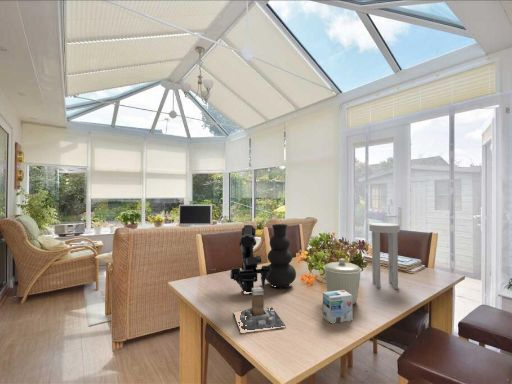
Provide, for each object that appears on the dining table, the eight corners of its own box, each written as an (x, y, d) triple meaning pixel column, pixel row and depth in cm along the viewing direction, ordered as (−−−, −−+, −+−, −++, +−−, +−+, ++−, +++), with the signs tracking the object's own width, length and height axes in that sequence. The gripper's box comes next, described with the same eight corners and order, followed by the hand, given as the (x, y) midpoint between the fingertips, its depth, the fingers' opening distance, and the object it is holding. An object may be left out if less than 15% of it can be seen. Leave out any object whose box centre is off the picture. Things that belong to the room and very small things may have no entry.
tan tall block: (251, 316, 115) (251, 288, 115) (261, 315, 116) (261, 287, 116) (254, 320, 111) (253, 291, 111) (263, 319, 112) (263, 290, 112)
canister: (345, 292, 145) (344, 253, 145) (370, 305, 128) (370, 260, 128) (316, 297, 138) (315, 256, 138) (339, 312, 121) (338, 264, 121)
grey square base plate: (233, 313, 120) (233, 305, 120) (272, 309, 124) (272, 301, 124) (240, 333, 103) (240, 324, 103) (285, 328, 107) (285, 319, 107)
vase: (302, 288, 152) (301, 225, 152) (272, 293, 145) (271, 227, 145) (286, 279, 169) (286, 222, 169) (259, 282, 162) (258, 224, 162)
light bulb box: (330, 324, 110) (330, 297, 110) (322, 317, 116) (321, 291, 116) (353, 320, 113) (353, 294, 113) (344, 314, 119) (343, 289, 119)
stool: (372, 288, 151) (372, 225, 152) (368, 279, 166) (367, 222, 167) (403, 290, 148) (402, 226, 148) (395, 281, 163) (395, 223, 163)
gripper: (230, 250, 124) (234, 282, 113) (270, 248, 128) (277, 278, 118) (228, 263, 132) (232, 294, 121) (265, 261, 136) (272, 290, 125)
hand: (253, 289), depth 121 cm, fingers open, 9 cm apart
